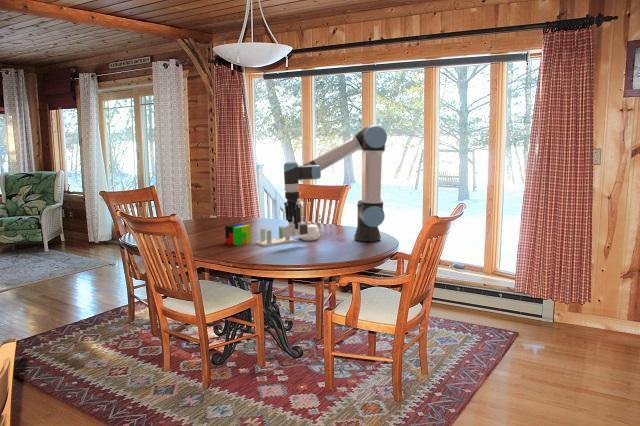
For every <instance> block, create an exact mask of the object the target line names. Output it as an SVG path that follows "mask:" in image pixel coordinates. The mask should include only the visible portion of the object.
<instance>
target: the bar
mask: <svg viewBox="0 0 640 426" xmlns="http://www.w3.org/2000/svg"><path fill="white" fill-rule="evenodd" d="M307 224H308V223H307ZM307 224H306V223H301V224H299V223H298V233H299V235H303V234H308V227H307ZM299 235H298V236H299ZM295 236H297V235H294V233H293V226H289V225H287V226H283V227H279V226H278V238H279V237H282V238H284V237H290V238H291V237H295Z"/></svg>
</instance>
